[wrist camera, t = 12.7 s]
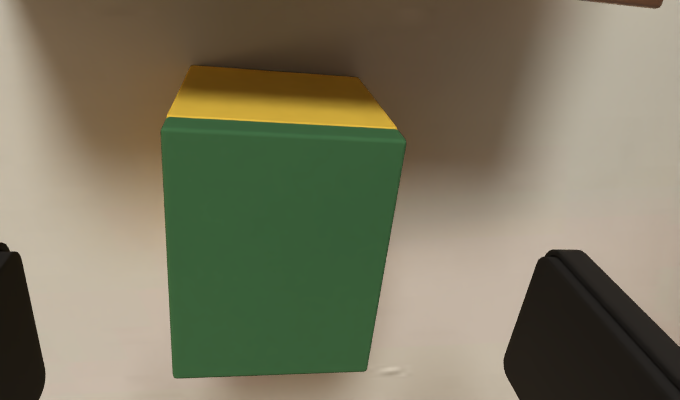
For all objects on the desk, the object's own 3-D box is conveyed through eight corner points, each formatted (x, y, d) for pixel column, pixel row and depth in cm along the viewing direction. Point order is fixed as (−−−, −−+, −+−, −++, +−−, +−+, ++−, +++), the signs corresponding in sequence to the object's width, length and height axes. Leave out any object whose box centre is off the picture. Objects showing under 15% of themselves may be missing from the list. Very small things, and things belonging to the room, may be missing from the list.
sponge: (190, 64, 15) (159, 127, 10) (358, 76, 16) (408, 140, 11) (194, 256, 18) (172, 380, 13) (336, 257, 19) (367, 372, 14)
